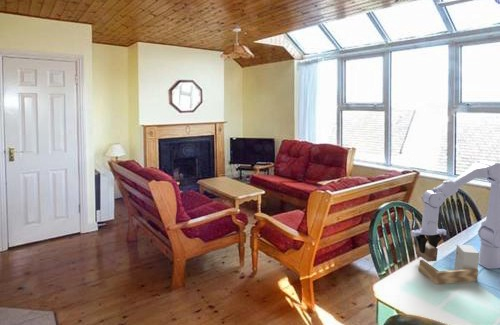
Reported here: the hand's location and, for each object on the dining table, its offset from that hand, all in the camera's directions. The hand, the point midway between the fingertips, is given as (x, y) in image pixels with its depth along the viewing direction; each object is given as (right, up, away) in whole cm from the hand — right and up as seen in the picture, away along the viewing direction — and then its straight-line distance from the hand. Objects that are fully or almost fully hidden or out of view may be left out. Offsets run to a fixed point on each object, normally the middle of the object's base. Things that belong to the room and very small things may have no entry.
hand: (426, 251), depth 152 cm
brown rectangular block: (0, -2, +1) cm, 2 cm away
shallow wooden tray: (+4, -7, -8) cm, 12 cm away
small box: (+12, -7, -6) cm, 15 cm away
